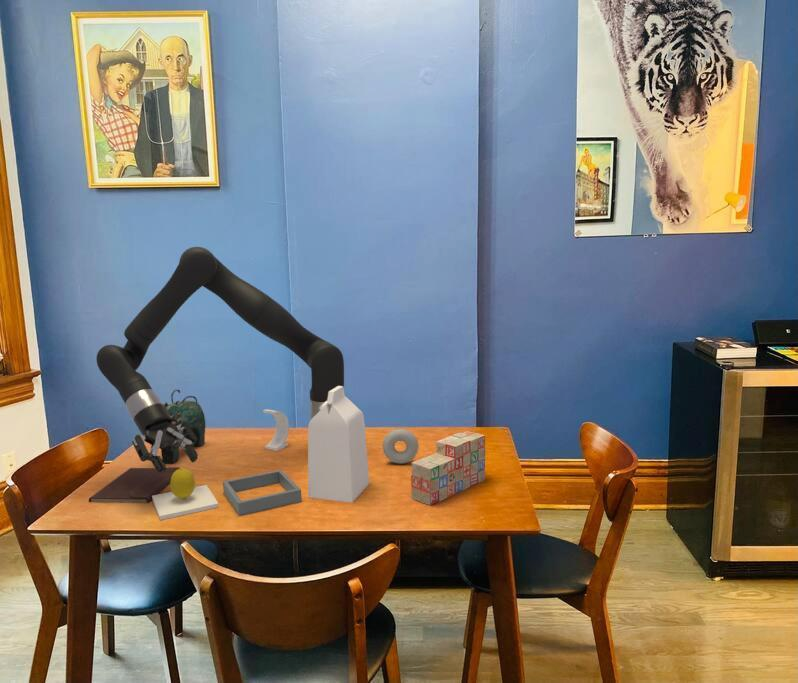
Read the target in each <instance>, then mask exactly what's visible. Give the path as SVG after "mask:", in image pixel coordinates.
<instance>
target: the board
mask: <svg viewBox="0 0 798 683" xmlns="http://www.w3.org/2000/svg"><path fill="white" fill-rule="evenodd" d="M151 501H152V502H153V506H154V507H155V510H156V513H157V515H158V518H159V521H163V520H167V519H172V518H177V517H181V516H182V517H183V516H186V515H190V514H195V513H200V512H204V511H205V512H206V511H209V510H214V509H219V507H220V506H219V502H218V501H217V499H216V497H215V496H214V494H213V493H212V491H211V489H210V488H209V486H208V484H204V485H198V486H195V487H194V491H193V492H192V494H191V495H190V496H188V497H187V498H186V499H184V500H183V499H181V498H178V497H176V496H175V495H174V494H173V493H172V491H169V492H163V493H159V494H158V495H153V496H152V500H151Z"/></svg>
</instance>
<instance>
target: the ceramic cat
mask: <svg viewBox="0 0 798 683" xmlns="http://www.w3.org/2000/svg"><path fill="white" fill-rule="evenodd" d="M176 392H178V394H180V393H181V390H180V389H174V390H173V391H172V392H171V396H170V397H171V403H168V402H167V401H166V402H165V403H162V404H163V406H164V408H165V409H166V411H167V412H168V414H169V416H170V418H171V421H172V423H173V424H174V425H175V426H177V425H180V424H182V422H186V423H187V424H188V426H189V427H190V429H191V430H192V431H193V433H194V434H195V436H196V437H197V440H196V442H195V443H194V445H193V447H194V448H200V447H203V446H204V445H205V440H206V438H205V437H206V417H205V413H204V411H203V408H202V406H201V405H200V403H199V402H198V399H197V397H196V396H195V395H188V396H186V397H184V398H183V399H182V400H177V401H175V402H174V397H173V396H174V394H175V393H176ZM188 398H193V399H194V400H186V399H188ZM177 432H178V433H179V431H177ZM181 434H182V433H181ZM178 440H179V439H178V438H176V441H178ZM160 451H161V459H162V461H163V463H164V464H167V465H169V464H170V465H173V464H175V463H177V462H179V458H180V457H179V456H180V447H176V446H174V445H172V446H167V447H164V448H162V449H160Z"/></svg>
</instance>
